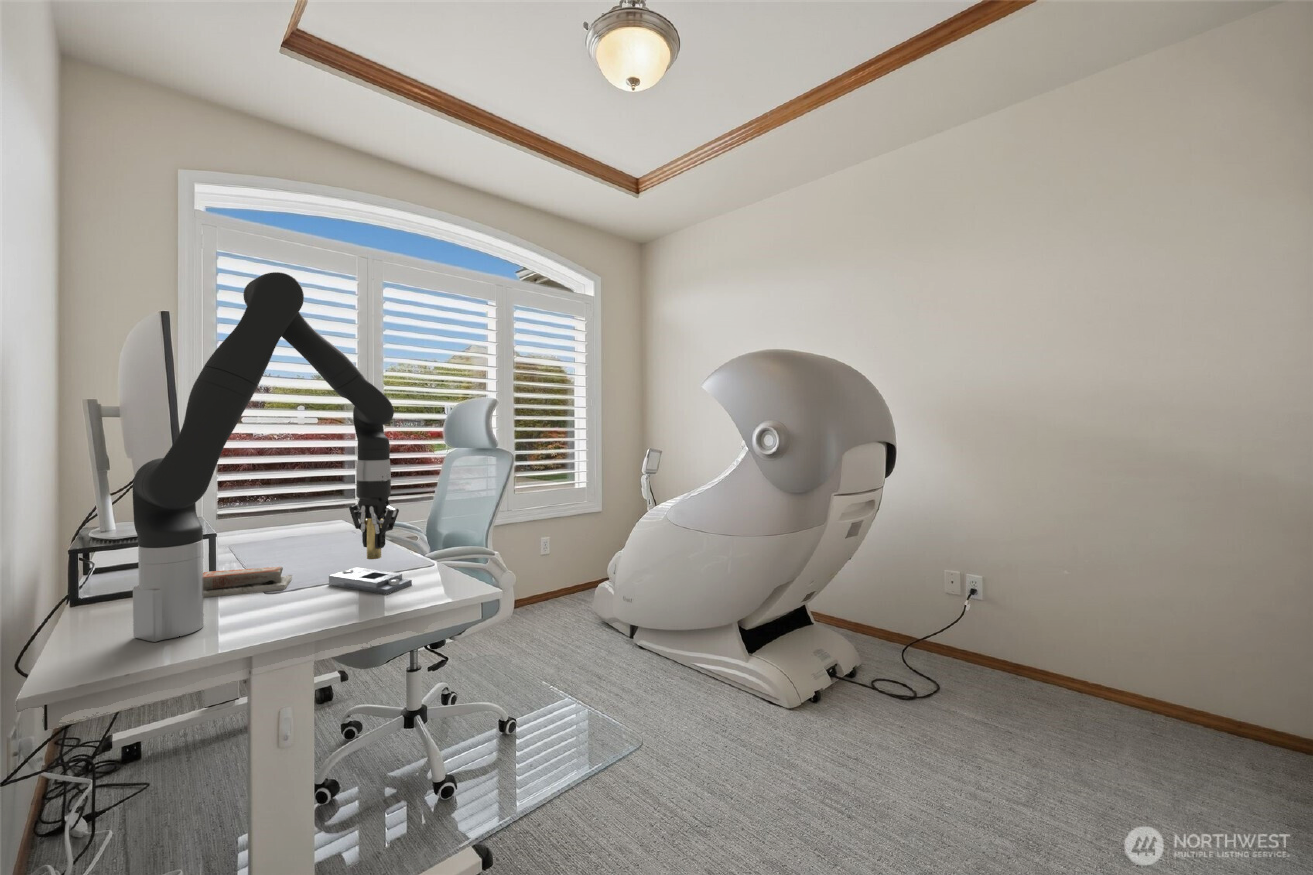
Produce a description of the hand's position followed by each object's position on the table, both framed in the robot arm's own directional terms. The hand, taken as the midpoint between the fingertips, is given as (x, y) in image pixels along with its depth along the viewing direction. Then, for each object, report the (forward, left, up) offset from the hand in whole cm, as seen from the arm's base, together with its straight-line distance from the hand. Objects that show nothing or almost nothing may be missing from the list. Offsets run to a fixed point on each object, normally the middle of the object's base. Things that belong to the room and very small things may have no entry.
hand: (373, 547), depth 135 cm
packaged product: (-13, +26, -10) cm, 31 cm away
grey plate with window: (0, 0, -10) cm, 10 cm away
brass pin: (0, 0, -3) cm, 3 cm away
